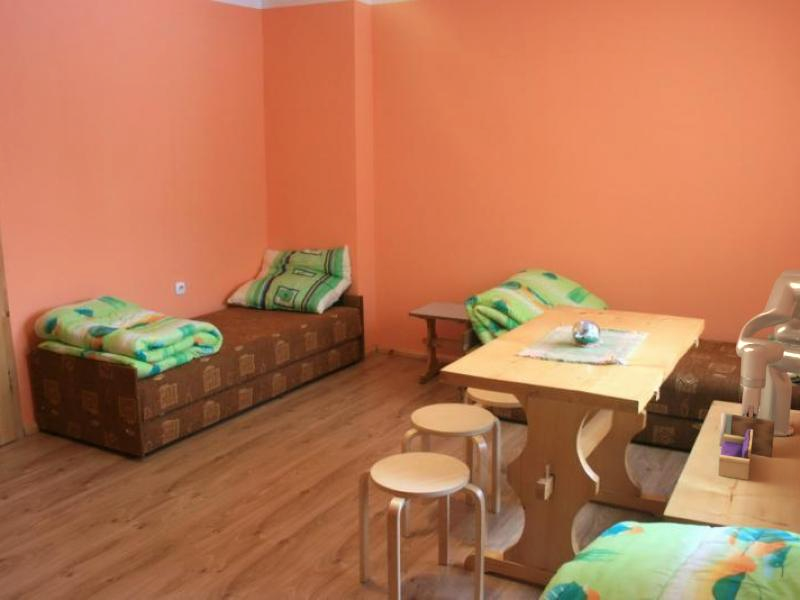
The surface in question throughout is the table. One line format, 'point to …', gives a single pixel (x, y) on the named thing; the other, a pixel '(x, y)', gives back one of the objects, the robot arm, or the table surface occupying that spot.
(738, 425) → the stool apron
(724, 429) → the grey panel
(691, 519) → the table surface
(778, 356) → the robot arm
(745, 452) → the toy sofa
